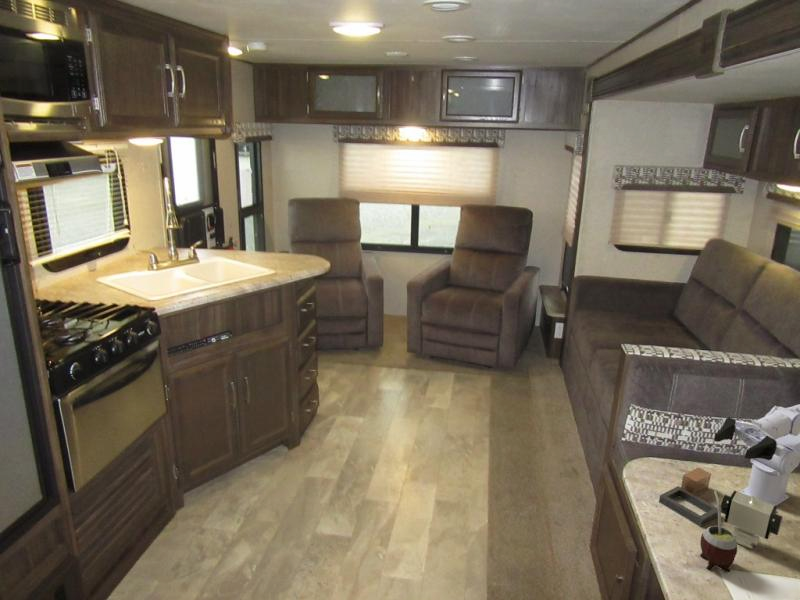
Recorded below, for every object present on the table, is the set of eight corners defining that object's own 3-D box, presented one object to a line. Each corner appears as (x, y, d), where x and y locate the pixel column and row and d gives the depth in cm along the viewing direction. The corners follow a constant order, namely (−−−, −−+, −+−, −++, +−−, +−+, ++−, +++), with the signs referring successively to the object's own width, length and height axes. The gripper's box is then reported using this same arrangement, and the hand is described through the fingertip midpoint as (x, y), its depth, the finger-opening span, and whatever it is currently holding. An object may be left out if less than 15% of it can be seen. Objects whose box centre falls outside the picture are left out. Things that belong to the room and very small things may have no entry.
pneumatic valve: (770, 560, 128) (782, 514, 125) (713, 535, 136) (722, 492, 133) (775, 547, 132) (786, 503, 129) (720, 524, 140) (729, 482, 136)
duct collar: (677, 492, 152) (678, 486, 152) (719, 516, 143) (720, 509, 142) (658, 501, 148) (660, 495, 148) (700, 527, 139) (702, 520, 138)
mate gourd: (723, 580, 122) (736, 520, 118) (687, 558, 128) (698, 501, 124) (739, 565, 127) (752, 507, 122) (703, 545, 133) (714, 489, 128)
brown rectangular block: (695, 483, 157) (698, 467, 155) (707, 490, 154) (711, 473, 152) (680, 491, 153) (683, 474, 152) (692, 498, 150) (695, 481, 149)
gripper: (740, 402, 147) (706, 416, 141) (799, 431, 135) (765, 447, 129) (734, 426, 149) (701, 440, 143) (792, 456, 137) (758, 473, 131)
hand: (731, 445), depth 136 cm, fingers open, 7 cm apart
